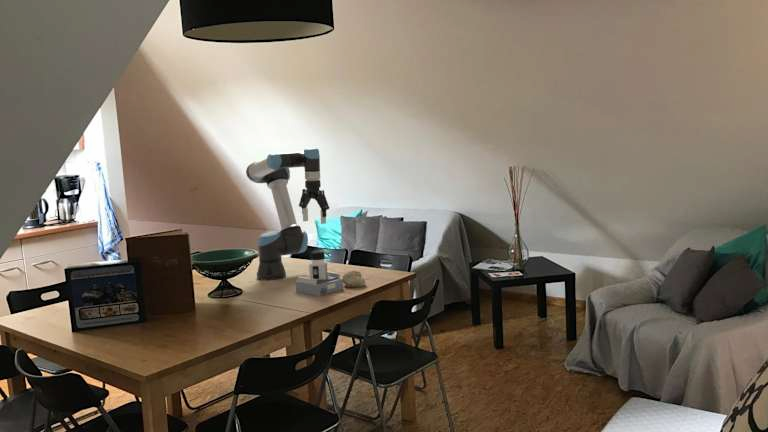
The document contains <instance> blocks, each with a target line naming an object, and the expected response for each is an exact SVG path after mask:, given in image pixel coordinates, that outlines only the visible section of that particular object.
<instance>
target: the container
mask: <svg viewBox="0 0 768 432" xmlns="http://www.w3.org/2000/svg"><path fill="white" fill-rule="evenodd" d="M308 271H309V273H308V274H309V277H310V278H311V279H317V280H326V278H327V276H328V273H327V271H328V261H327V260H326V259H325V252H324V251H323V250H314V251H312V252H310V262H309V264H308Z"/></svg>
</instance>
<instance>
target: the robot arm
mask: <svg viewBox="0 0 768 432" xmlns="http://www.w3.org/2000/svg"><path fill="white" fill-rule="evenodd" d="M320 160H321V156H320V150H319V148H315V147H313V148H311V147H309V148H304V149H303V151H302V150H301V151H294V152H277V153H276V152H274V153H269V154H268V155H267V157H266V158H265V159H263V160H261V161H255V162H252V163H250V164H249V165H248V166H247V167H246V170H245V171H246V172H245V174H246V177H247V178H248V179H249V180H250V181H251V182H253V183H254V184H255V183H256V184H266V185H267V188H268V189H270V190H271V194H272V197H273V201H274V205H275V208H276V209H275V210H276V212H277V216H278V221H279V224H280V228H281V229H280V230H276V231H275V230H274V231H268V232H265V233H261V234H260V235H258V237H257V246H258V261H259V264H258V267H257V272H256V278H257V279H258V280H261V281H269V280H271V281H272V280H278V279H283V278H285V277H286V276H287V273H286V272H287V271H286V269H285V266H284V264H283V260H282V257H283V256H289V255H295V254H297V255H299V254H301V253H304V252H306V250H307V249H308V244H309V237H308V233H307V232H306V230H302V228H301V226H300V225H298V223H297V219H296V216H295V212H294V209H293V205H292V201H291V197H290V193H289V190H288V187H287V185H288V184H289V181H290V179H291V170H290V169H291V168H293V169H294V168H304V180H305V181H304V182H305V183H304V186H305V188H303V189H302V191H301V192H302V194H301V197H300V200H299V204H298V206H299V207H300V208H301V213H302V221H303V222H309V210H308V209H309V208H308V205H309V204H310V202H311V200H315V201H316V202H317V204H318V206H319V208H320V224H321V225H325V224H327V210H330V205H329V203H328V201H327V198H326V195H325V190H324V189H322V190H320V189H321V180H320V179H321V165H320V164H321V163H320Z"/></svg>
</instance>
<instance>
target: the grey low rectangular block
mask: <svg viewBox="0 0 768 432" xmlns="http://www.w3.org/2000/svg"><path fill="white" fill-rule="evenodd" d="M327 273H328V276H327V278H326V280H317V279H311V278H310V276H308V277H305V276H297V280H296V281H295V282H294V283H295V292H298V293H302V294H307V295H312V296H317V297H320V296H323V295H326V294H331V293H334V291H335V292H337V291H341V290H344V283H343V279H342V277H341V275H340V272H339V273H338V272H334V271H333V272H332V271H329V270H327Z"/></svg>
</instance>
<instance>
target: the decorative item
mask: <svg viewBox="0 0 768 432" xmlns="http://www.w3.org/2000/svg"><path fill="white" fill-rule="evenodd" d="M341 279H343V285H345V287H347V288H361V287H364V286H365V285H366V279H365V278H364V277H362V273H361V272H360V271H359V270H350V271H347V272H346V273H344V274H343V276H342V277H341Z"/></svg>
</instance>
